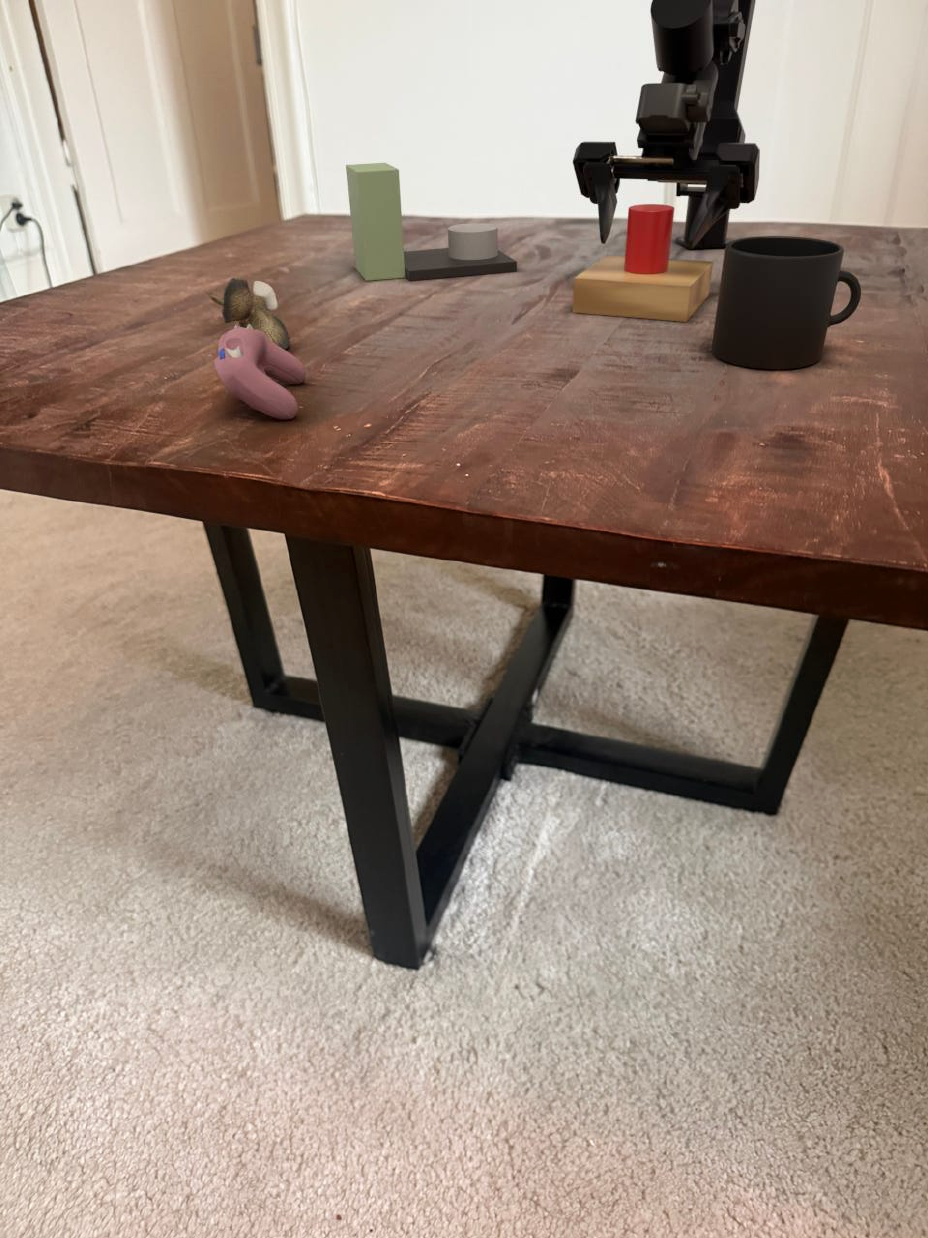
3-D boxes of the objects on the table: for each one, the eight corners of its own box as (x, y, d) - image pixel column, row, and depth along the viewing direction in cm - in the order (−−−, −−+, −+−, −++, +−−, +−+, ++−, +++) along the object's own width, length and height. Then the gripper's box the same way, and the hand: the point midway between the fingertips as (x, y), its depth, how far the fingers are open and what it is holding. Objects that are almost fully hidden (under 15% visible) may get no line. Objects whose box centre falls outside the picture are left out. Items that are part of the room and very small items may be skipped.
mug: (867, 369, 71) (895, 255, 66) (724, 371, 72) (741, 258, 66) (829, 337, 79) (852, 233, 74) (701, 340, 79) (714, 236, 74)
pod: (616, 271, 89) (621, 209, 85) (635, 263, 92) (640, 202, 89) (657, 275, 87) (663, 211, 83) (674, 267, 90) (681, 205, 86)
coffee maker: (489, 253, 116) (488, 154, 109) (517, 271, 106) (518, 163, 99) (352, 265, 112) (343, 163, 105) (369, 284, 102) (359, 173, 95)
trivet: (604, 287, 98) (606, 255, 96) (708, 294, 94) (713, 261, 92) (572, 312, 89) (574, 277, 87) (686, 322, 85) (690, 285, 83)
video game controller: (267, 400, 73) (216, 328, 69) (311, 374, 72) (262, 300, 69) (253, 443, 65) (195, 365, 61) (302, 415, 64) (247, 333, 60)
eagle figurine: (190, 329, 83) (206, 333, 75) (216, 259, 82) (235, 256, 74) (263, 362, 87) (285, 369, 79) (288, 296, 86) (313, 296, 78)
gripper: (582, 49, 85) (543, 186, 83) (775, 44, 78) (737, 192, 76) (600, 132, 95) (565, 256, 93) (771, 134, 89) (738, 266, 86)
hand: (645, 243), depth 87 cm, fingers open, 9 cm apart
